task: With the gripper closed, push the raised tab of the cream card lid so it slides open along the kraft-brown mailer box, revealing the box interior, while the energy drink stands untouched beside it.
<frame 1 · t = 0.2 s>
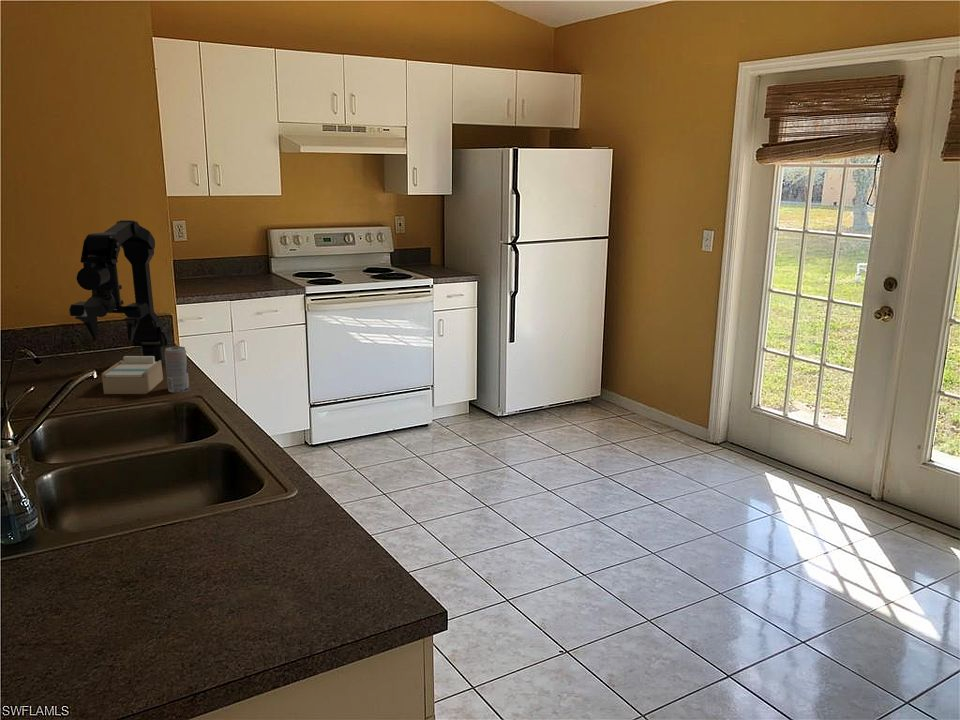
hand: (113, 341, 204), 14 cm above the counter, fingers open, 9 cm apart
energy drink: (179, 392, 209), on the counter
lid: (132, 366, 209), point 6 cm above the counter, slide at 0.0 cm
mailer box: (134, 388, 211), on the counter
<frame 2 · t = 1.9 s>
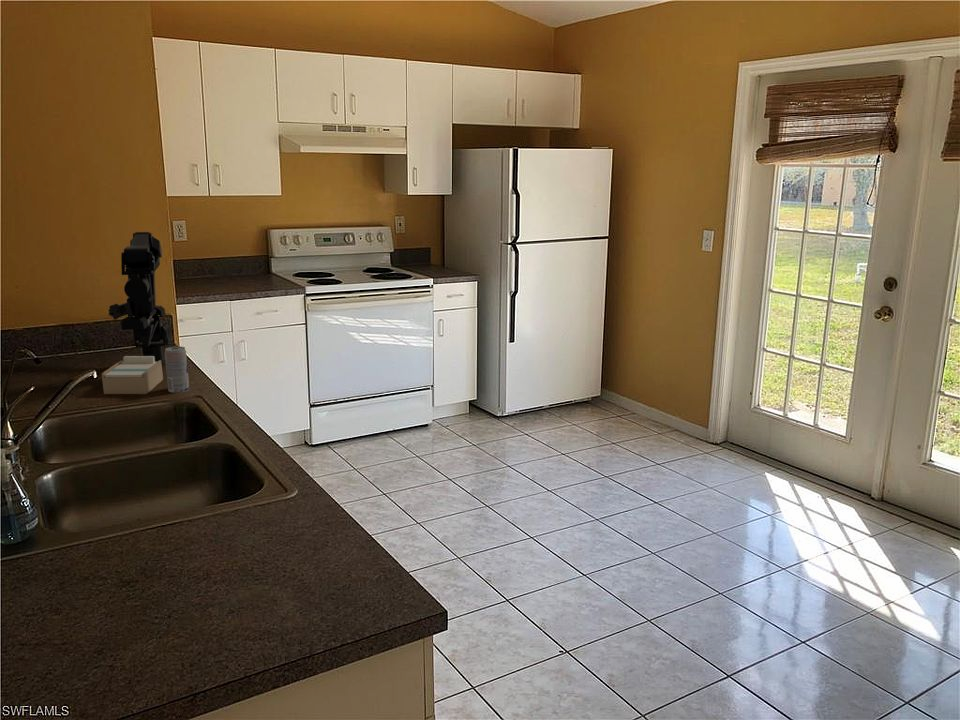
hand: (146, 346, 220), 9 cm above the counter, fingers closed
nothing on the counter moved.
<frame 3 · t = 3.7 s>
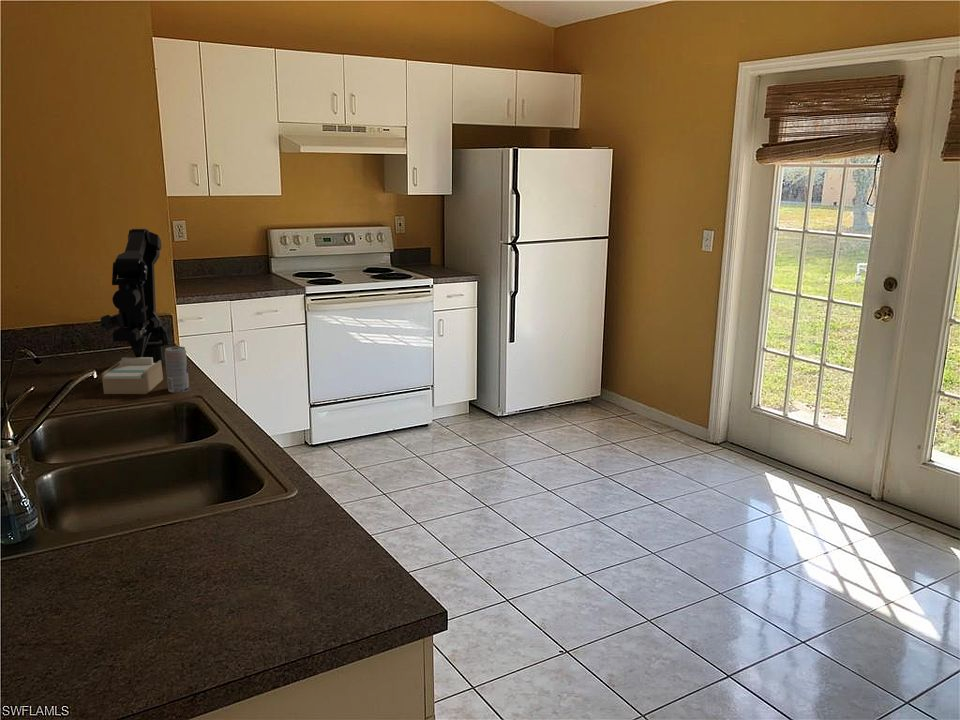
hand: (139, 358, 214), 7 cm above the counter, fingers closed
lid: (130, 367, 208), point 6 cm above the counter, slide at 1.3 cm, touching gripper
everything else where it was.
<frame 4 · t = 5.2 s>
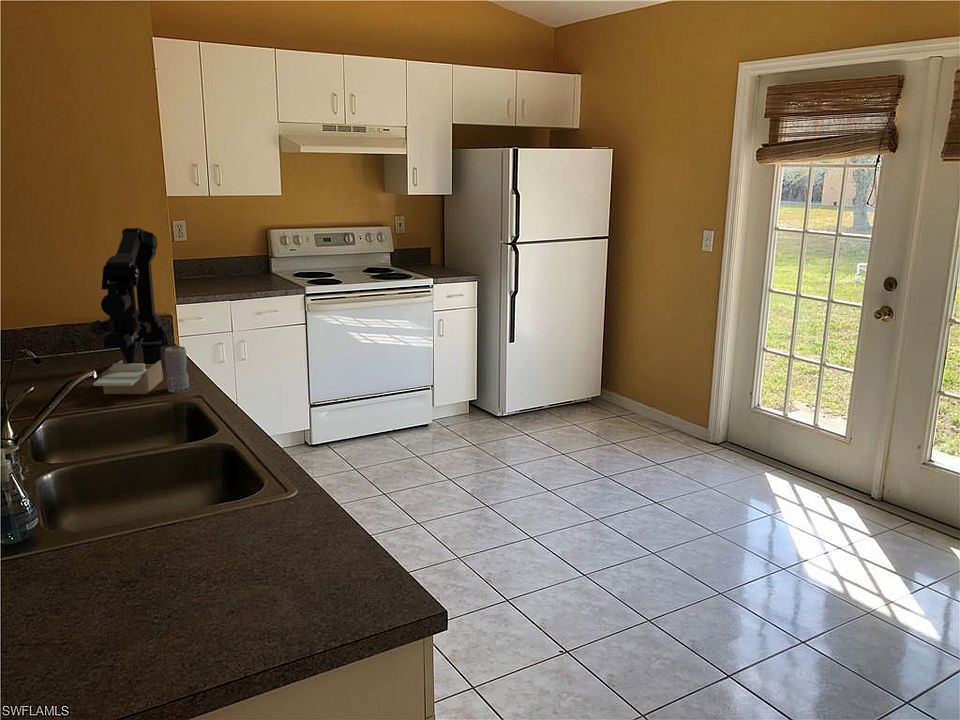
hand: (130, 365, 208), 7 cm above the counter, fingers closed
lid: (121, 373, 202), point 6 cm above the counter, slide at 7.4 cm, touching gripper
everything else where it was.
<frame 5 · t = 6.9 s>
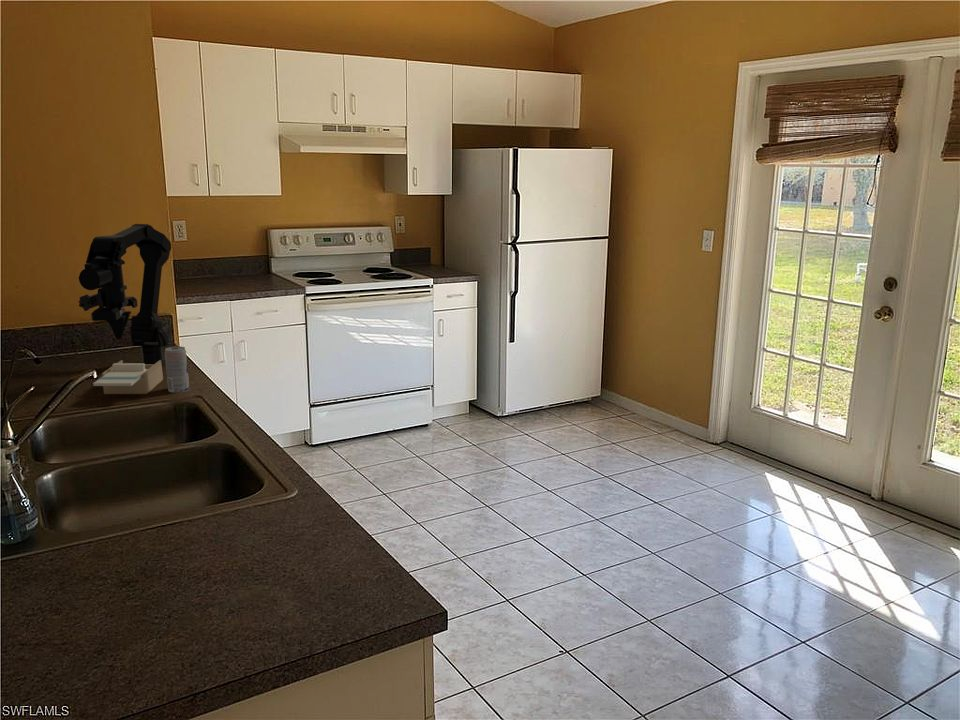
hand: (118, 338, 214), 12 cm above the counter, fingers closed
lid: (121, 374, 202), point 6 cm above the counter, slide at 7.5 cm
everything else where it was.
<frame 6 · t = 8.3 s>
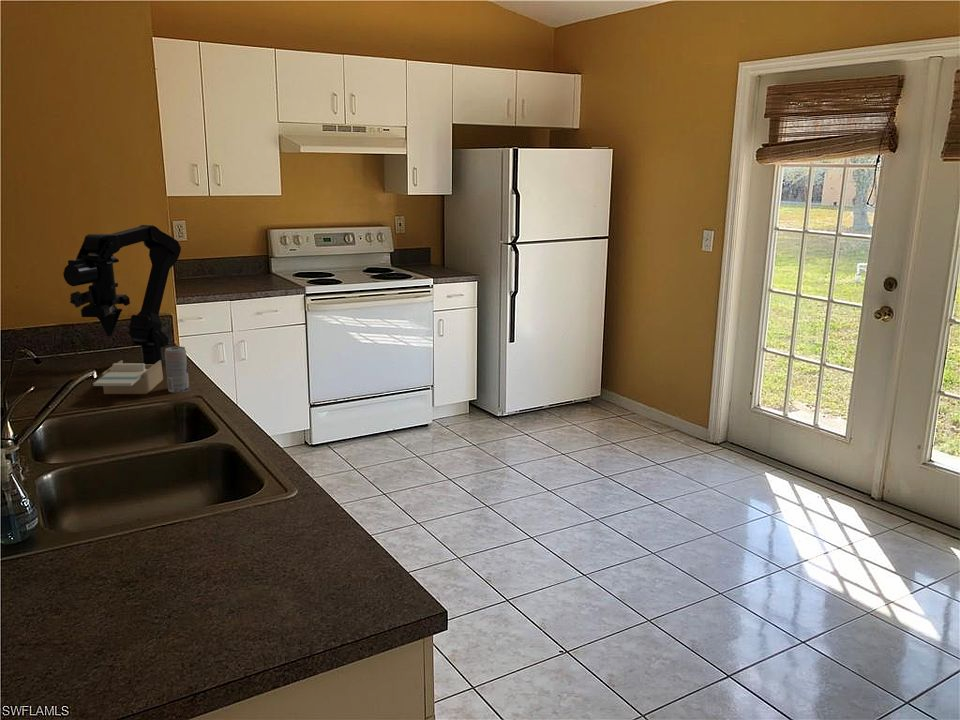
hand: (109, 335, 216), 13 cm above the counter, fingers closed
nothing on the counter moved.
at the end: lid slide at 7.5 cm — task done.
